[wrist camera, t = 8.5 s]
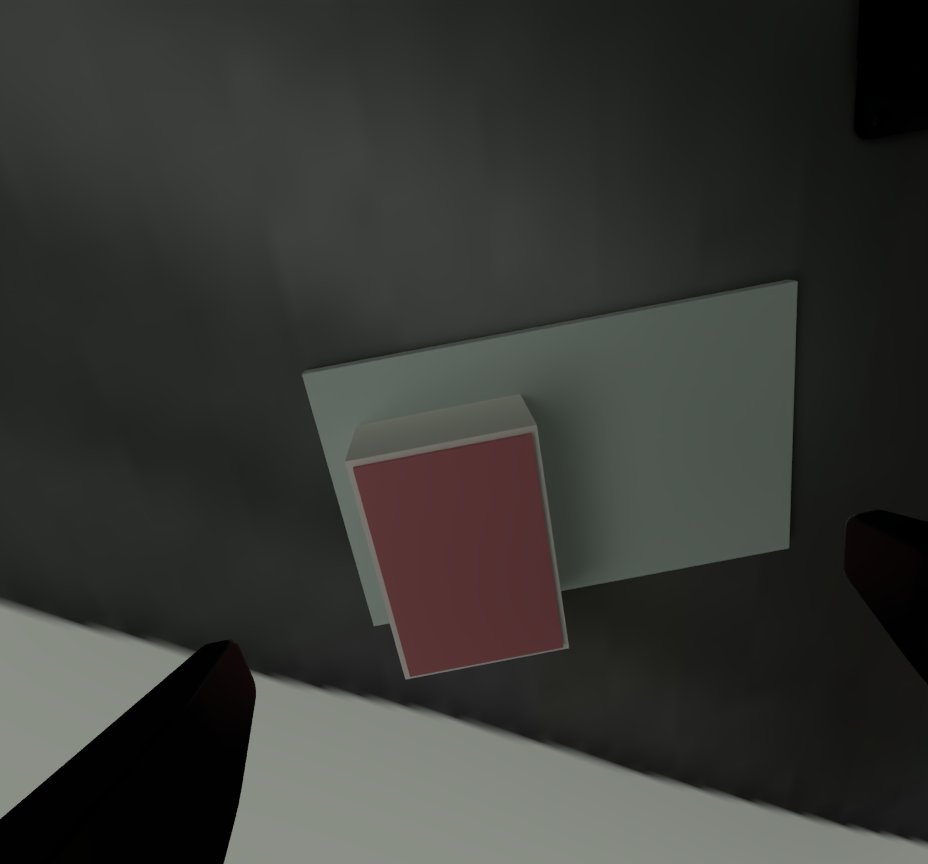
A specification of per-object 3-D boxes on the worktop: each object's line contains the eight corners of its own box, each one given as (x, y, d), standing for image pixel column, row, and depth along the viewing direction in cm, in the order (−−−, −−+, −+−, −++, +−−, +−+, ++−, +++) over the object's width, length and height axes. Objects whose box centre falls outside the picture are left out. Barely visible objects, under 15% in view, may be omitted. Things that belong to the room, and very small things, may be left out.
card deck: (550, 592, 22) (570, 651, 19) (408, 620, 22) (405, 682, 19) (520, 394, 19) (537, 426, 16) (356, 425, 19) (343, 463, 16)
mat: (788, 279, 19) (797, 281, 18) (781, 541, 22) (789, 548, 22) (304, 370, 19) (302, 374, 18) (374, 617, 22) (374, 625, 22)
